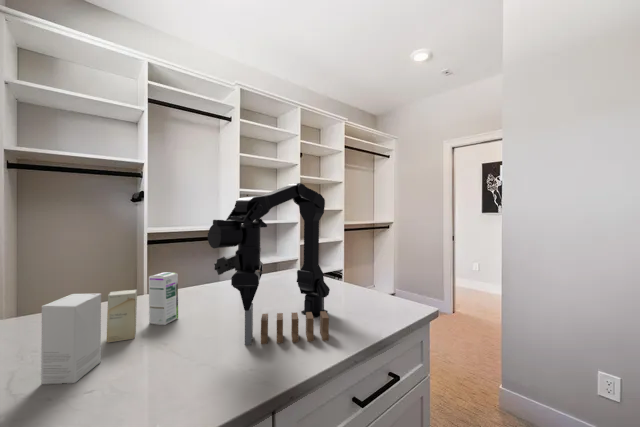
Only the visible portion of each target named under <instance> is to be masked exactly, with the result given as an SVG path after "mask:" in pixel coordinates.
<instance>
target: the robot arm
mask: <svg viewBox="0 0 640 427" xmlns="http://www.w3.org/2000/svg"><path fill="white" fill-rule="evenodd" d="M291 200H292V201H293V202H294V203H295V204H296V205H297V206H298V208H299V214H300V216H301V218H302V220H303V264H302V266H301V268H300V269H298V270H296V275H297V277H296V283H297V286H298V288H299V290H300V291H299V292H300V294H303V295H304V301H303V302H304V305H303V307H304V310H301V314H304V315H306V312H312V315H313V318H317V317H320V312H321V311H326V313H327V314H328V310H326V309H325V298H327V296H329V294H330V291H331V290H330V289H331V288H330V287H329V286H328V285H327V283H326V282H325V281H324V279H325V278H324V272H323V270H322V268H321V266H320V263H319V261H320V260H319V258H320V256H319V253H320V252H319V251H320V220H321V219H322V217H323V215H324V213H325V208H326V206H325V205H326V200H325V197H323V195H322V194H321V193H318V191H315V190H313V189H311V188H309V187H307V185H305V184H303V183H301V182H297V183H296V182H295V183H289V184H288V185H286V186H283V187H281V188H278V189H276V190H275V189H274V190H273V191H269V192H267V193H265V194H262V195H254V196H253V195H252V196H245V197H240V198H238V199H236V201H235V204H234V208H233V209H232V210H231V212H230V213H229V215H228V216H227V218H226V219H213V220H212V225H211V226H210V228H209V230H208V232H207V242H208V245H209V246H210V247H211V248H212V249H222V248H234V247H237V249H236V250H235V254H233V255H230V256H227V257H226V256H222V257H219V258H217V259H216V261H214V263H213V265H214V268H213V269H214V271H216V274H217V275H218V276H220V275H223V274H224V273H226V272H229V271H233V270H234V272H235V273H233V275H232V276H231V279H230V280H231V282H230V283H231V284H230V285H231V286H232V287H233V288H234V289H236V290H237V291H239V294H240V298H241V303H242V306H243V310H244V312H245V311H249V309H250V306H251V304H252V303H253V301H254V299H255V296H256V293H257V290H258V287H259V286H260V280H261V278H262V275H263V270H264V263H263V261H261V252H262V247H261V228H262V229H263V228H267V227H268V224H267V223H265V221H263V219H262V218H263V217H265V215H267V214H269V213H270V210H271V209H273V208H275V207H277V206H279V205H281V204H283V203H286V202H288V201H291Z"/></svg>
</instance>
